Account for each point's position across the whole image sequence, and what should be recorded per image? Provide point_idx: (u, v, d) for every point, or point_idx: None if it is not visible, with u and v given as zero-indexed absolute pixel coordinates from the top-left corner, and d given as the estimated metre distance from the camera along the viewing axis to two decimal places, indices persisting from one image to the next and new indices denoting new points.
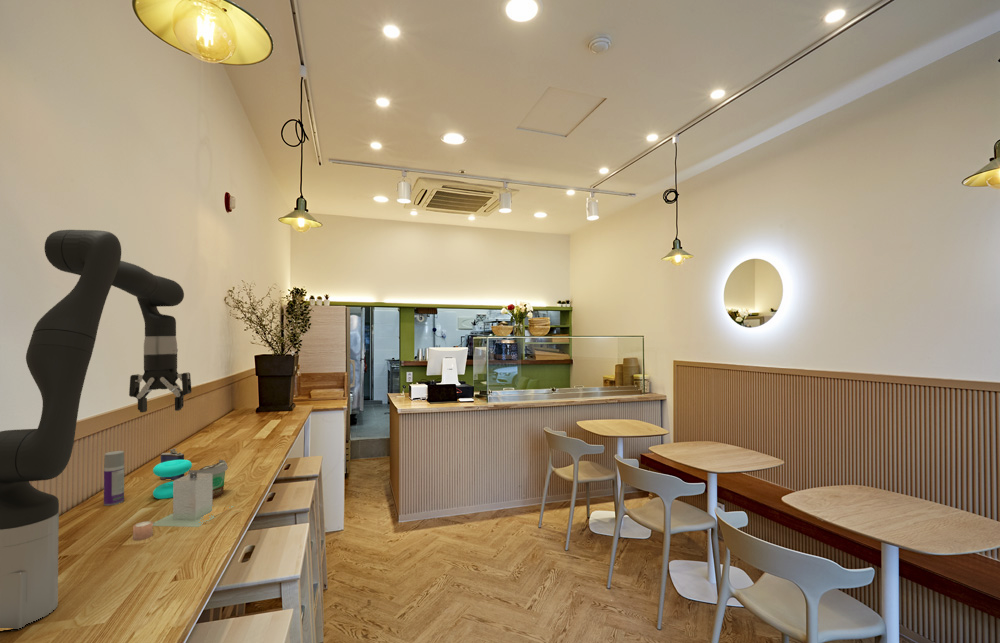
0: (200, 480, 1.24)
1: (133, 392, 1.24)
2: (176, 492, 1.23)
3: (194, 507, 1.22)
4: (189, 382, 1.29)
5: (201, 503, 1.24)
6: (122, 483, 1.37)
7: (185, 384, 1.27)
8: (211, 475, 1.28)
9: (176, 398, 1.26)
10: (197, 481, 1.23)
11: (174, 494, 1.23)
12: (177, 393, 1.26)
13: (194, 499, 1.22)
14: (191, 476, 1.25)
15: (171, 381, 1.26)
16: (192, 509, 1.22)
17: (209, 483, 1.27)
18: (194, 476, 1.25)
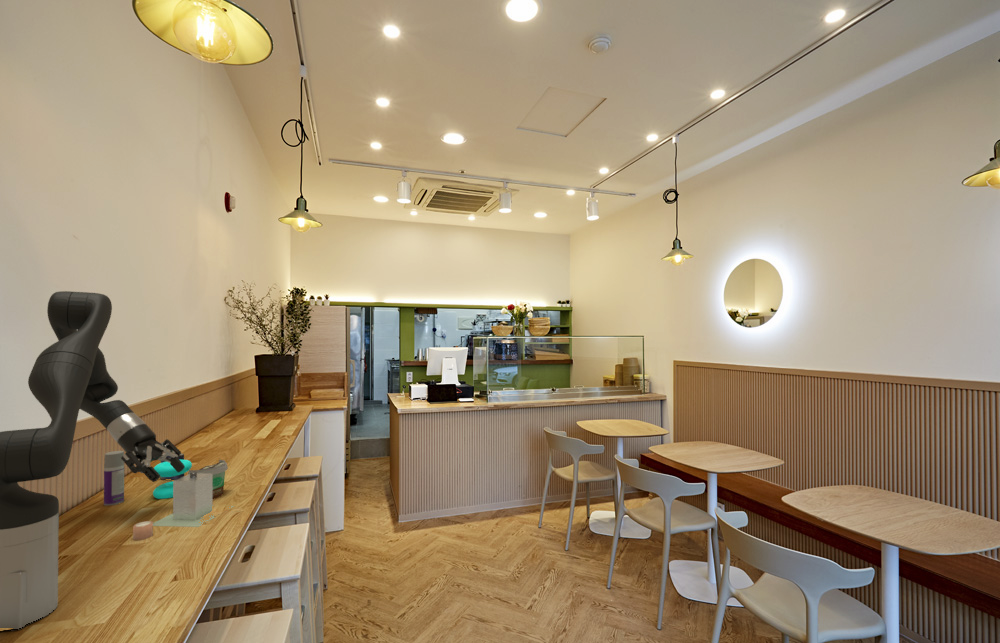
0: (200, 480, 1.24)
1: (140, 463, 1.21)
2: (176, 492, 1.23)
3: (194, 507, 1.22)
4: None
5: (201, 503, 1.24)
6: (122, 483, 1.37)
7: (174, 446, 1.33)
8: (211, 475, 1.28)
9: (176, 458, 1.31)
10: (197, 481, 1.23)
11: (174, 494, 1.23)
12: (174, 454, 1.31)
13: (194, 499, 1.22)
14: (191, 476, 1.25)
15: None
16: (192, 509, 1.22)
17: (209, 483, 1.27)
18: (194, 476, 1.25)
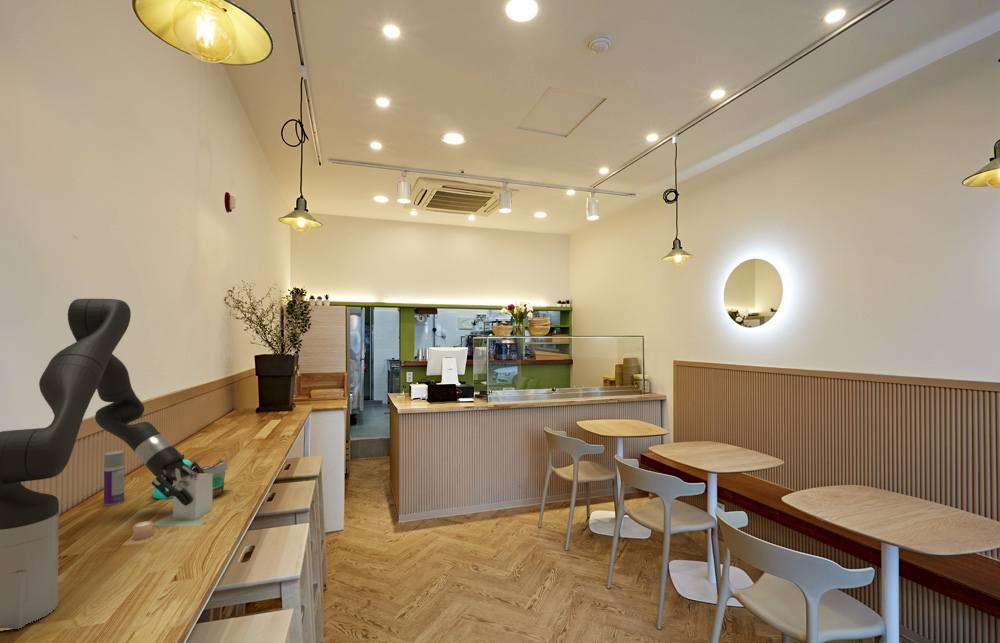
0: (200, 480, 1.24)
1: (173, 487, 1.21)
2: None
3: (194, 507, 1.22)
4: None
5: (201, 503, 1.24)
6: (122, 483, 1.37)
7: (200, 469, 1.32)
8: (211, 475, 1.28)
9: None
10: (197, 481, 1.23)
11: None
12: None
13: (194, 499, 1.22)
14: (191, 476, 1.25)
15: None
16: (192, 509, 1.22)
17: (209, 483, 1.27)
18: (194, 476, 1.25)
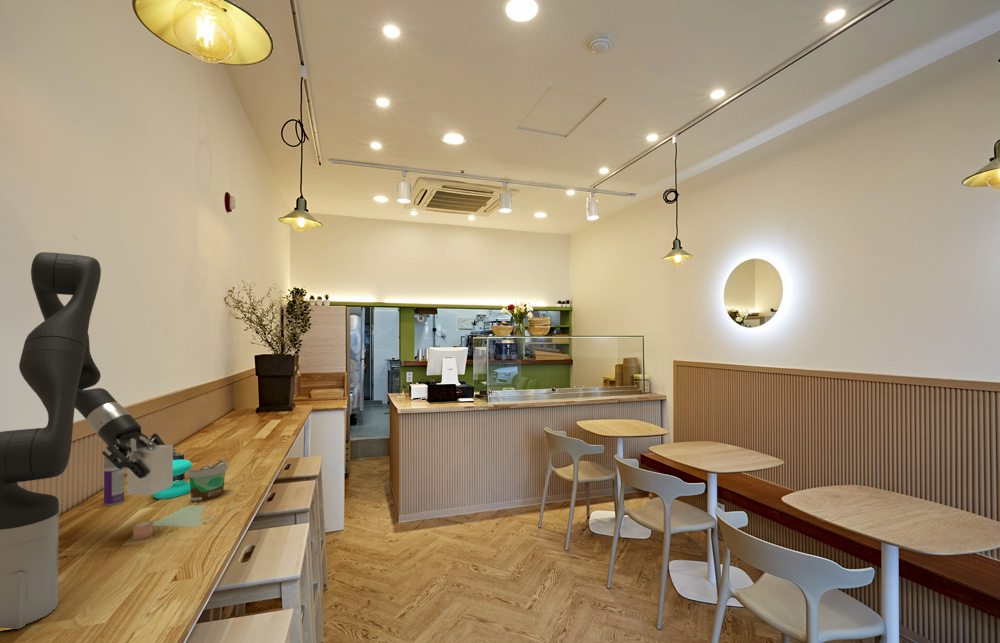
0: (157, 451, 1.13)
1: (126, 457, 1.09)
2: None
3: (150, 480, 1.11)
4: None
5: (158, 476, 1.13)
6: (122, 483, 1.37)
7: (161, 441, 1.21)
8: (171, 447, 1.17)
9: None
10: (154, 452, 1.12)
11: None
12: None
13: (150, 471, 1.11)
14: (148, 447, 1.14)
15: None
16: (148, 482, 1.11)
17: (168, 455, 1.16)
18: (151, 447, 1.14)
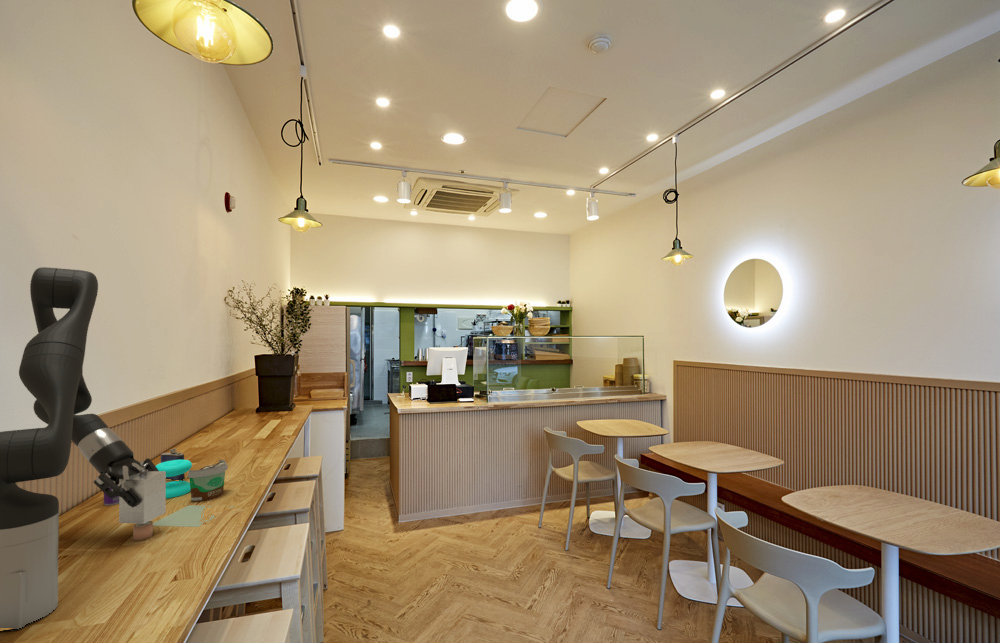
0: (150, 479, 1.11)
1: (118, 486, 1.08)
2: None
3: (142, 509, 1.10)
4: None
5: (151, 504, 1.12)
6: None
7: (154, 467, 1.19)
8: (164, 473, 1.16)
9: None
10: (146, 480, 1.10)
11: None
12: None
13: (143, 499, 1.10)
14: (140, 474, 1.12)
15: None
16: (140, 511, 1.10)
17: (161, 482, 1.15)
18: (144, 474, 1.13)
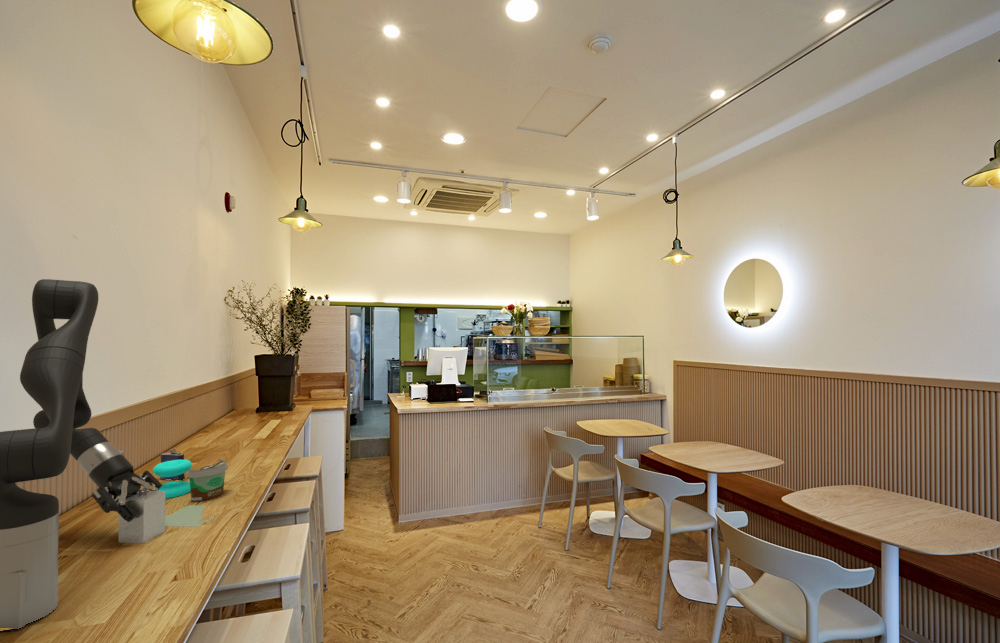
0: (149, 499, 1.11)
1: (113, 501, 1.07)
2: None
3: (142, 530, 1.09)
4: None
5: (151, 525, 1.11)
6: None
7: (154, 478, 1.20)
8: (163, 493, 1.15)
9: None
10: (146, 500, 1.10)
11: None
12: (154, 488, 1.18)
13: (142, 520, 1.09)
14: (140, 494, 1.12)
15: None
16: (140, 532, 1.09)
17: (161, 502, 1.15)
18: (143, 494, 1.12)
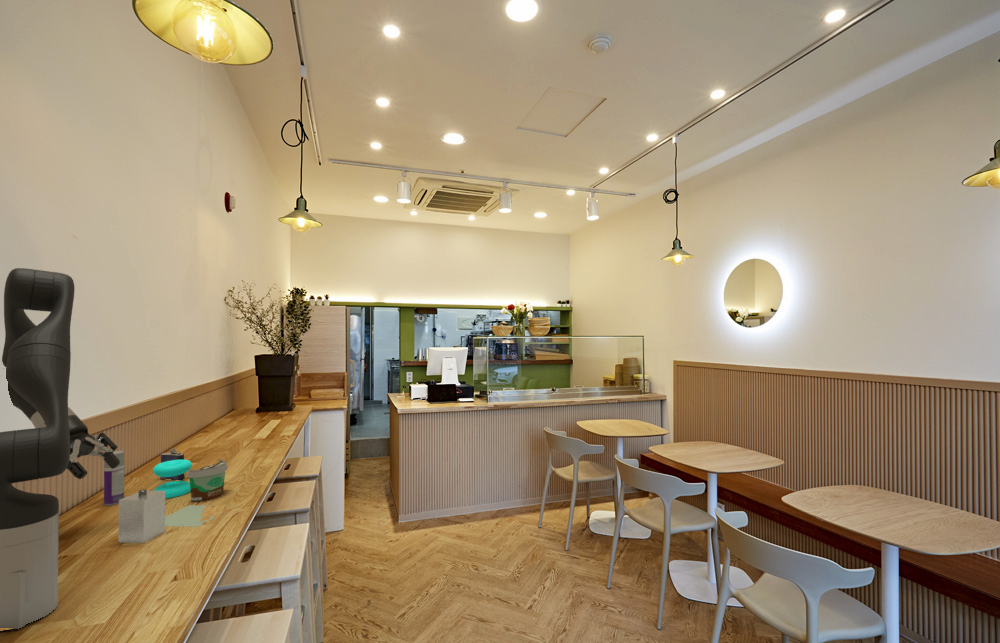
0: (149, 499, 1.11)
1: None
2: (122, 513, 1.10)
3: (142, 530, 1.09)
4: None
5: (151, 525, 1.11)
6: (122, 483, 1.37)
7: (109, 440, 1.21)
8: (163, 493, 1.15)
9: (110, 453, 1.19)
10: (146, 500, 1.10)
11: (120, 515, 1.10)
12: (109, 449, 1.19)
13: (142, 520, 1.09)
14: (140, 494, 1.12)
15: None
16: (140, 532, 1.09)
17: (161, 502, 1.15)
18: (143, 494, 1.12)
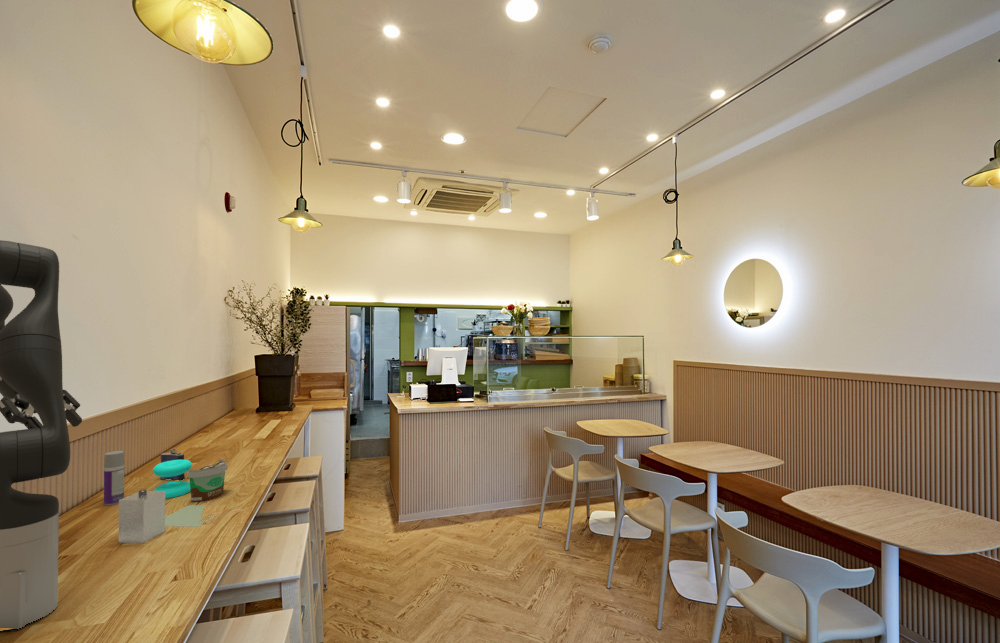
0: (149, 499, 1.11)
1: (18, 411, 1.01)
2: (122, 513, 1.10)
3: (142, 530, 1.09)
4: None
5: (151, 525, 1.11)
6: (122, 483, 1.37)
7: (71, 398, 1.14)
8: (163, 493, 1.15)
9: (72, 411, 1.12)
10: (146, 500, 1.10)
11: (120, 515, 1.10)
12: (70, 406, 1.12)
13: (142, 520, 1.09)
14: (140, 494, 1.12)
15: None
16: (140, 532, 1.09)
17: (161, 502, 1.15)
18: (143, 494, 1.12)
